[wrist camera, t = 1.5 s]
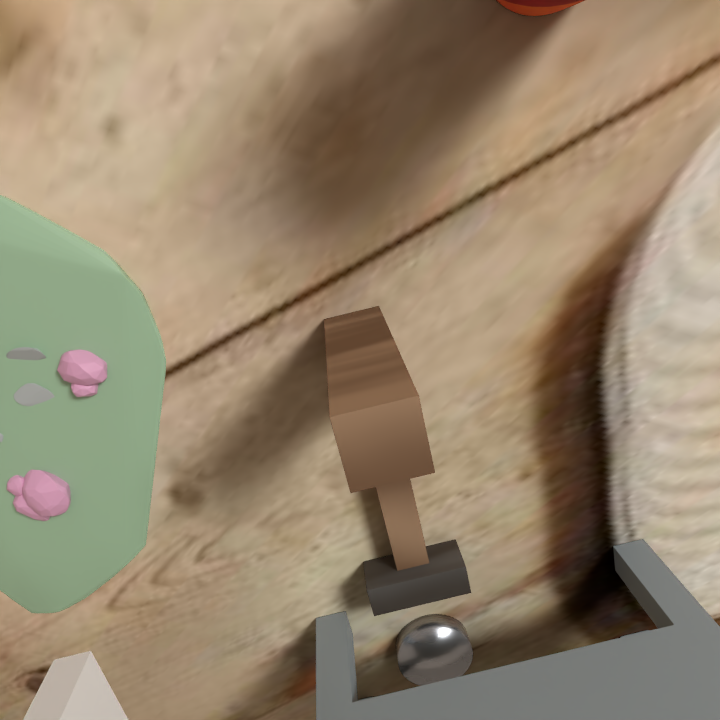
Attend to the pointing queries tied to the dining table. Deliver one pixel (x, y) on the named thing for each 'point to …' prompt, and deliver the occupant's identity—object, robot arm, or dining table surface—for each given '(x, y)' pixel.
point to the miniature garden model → (71, 413)
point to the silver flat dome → (433, 649)
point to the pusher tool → (387, 459)
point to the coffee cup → (537, 6)
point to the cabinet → (558, 668)
